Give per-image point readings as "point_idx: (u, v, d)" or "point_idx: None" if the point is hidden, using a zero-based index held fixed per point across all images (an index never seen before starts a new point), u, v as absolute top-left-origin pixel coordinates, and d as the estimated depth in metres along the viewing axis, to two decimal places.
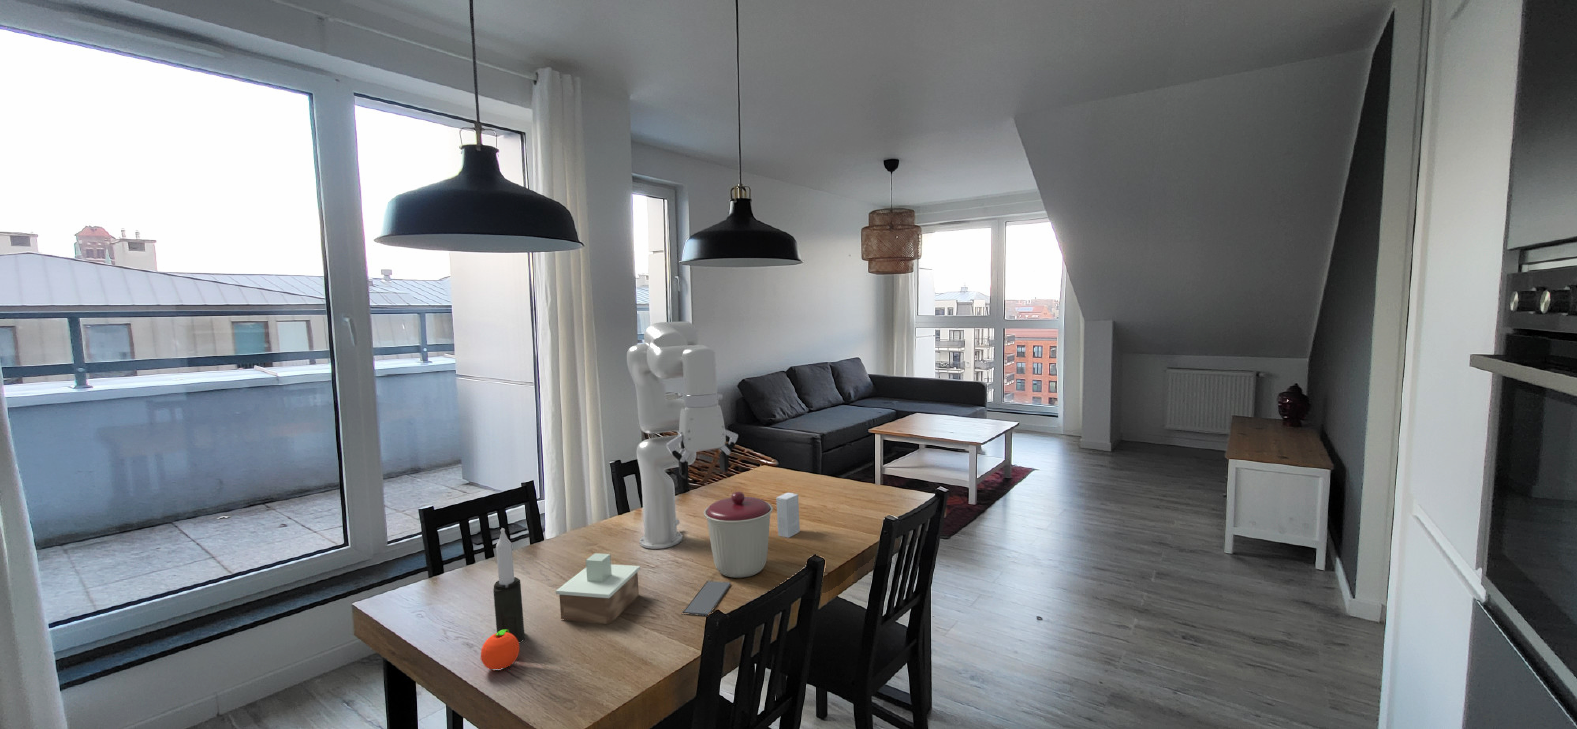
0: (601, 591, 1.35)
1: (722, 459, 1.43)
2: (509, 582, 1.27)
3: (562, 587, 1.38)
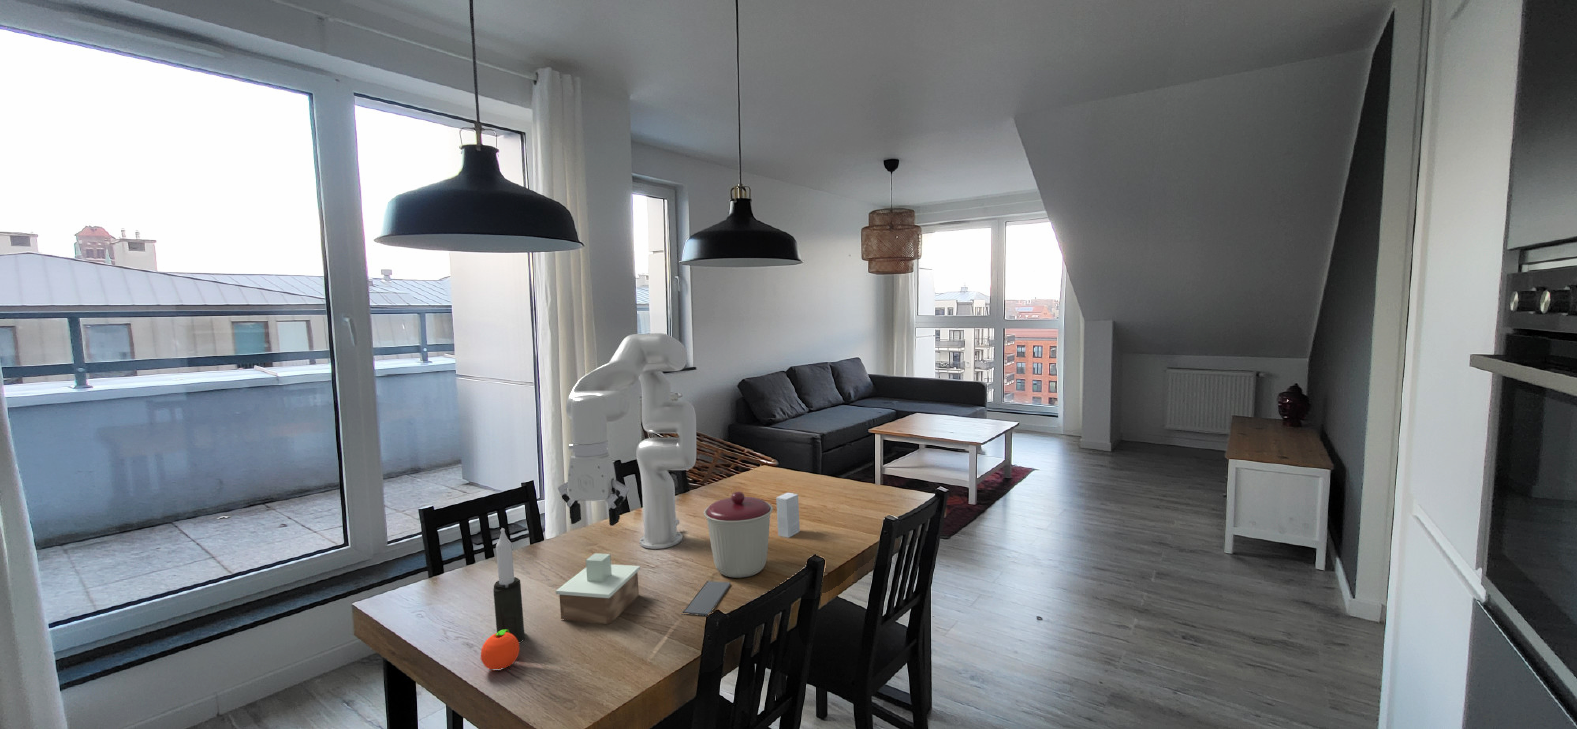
0: (601, 591, 1.35)
1: (577, 509, 1.41)
2: (509, 582, 1.27)
3: (562, 587, 1.38)
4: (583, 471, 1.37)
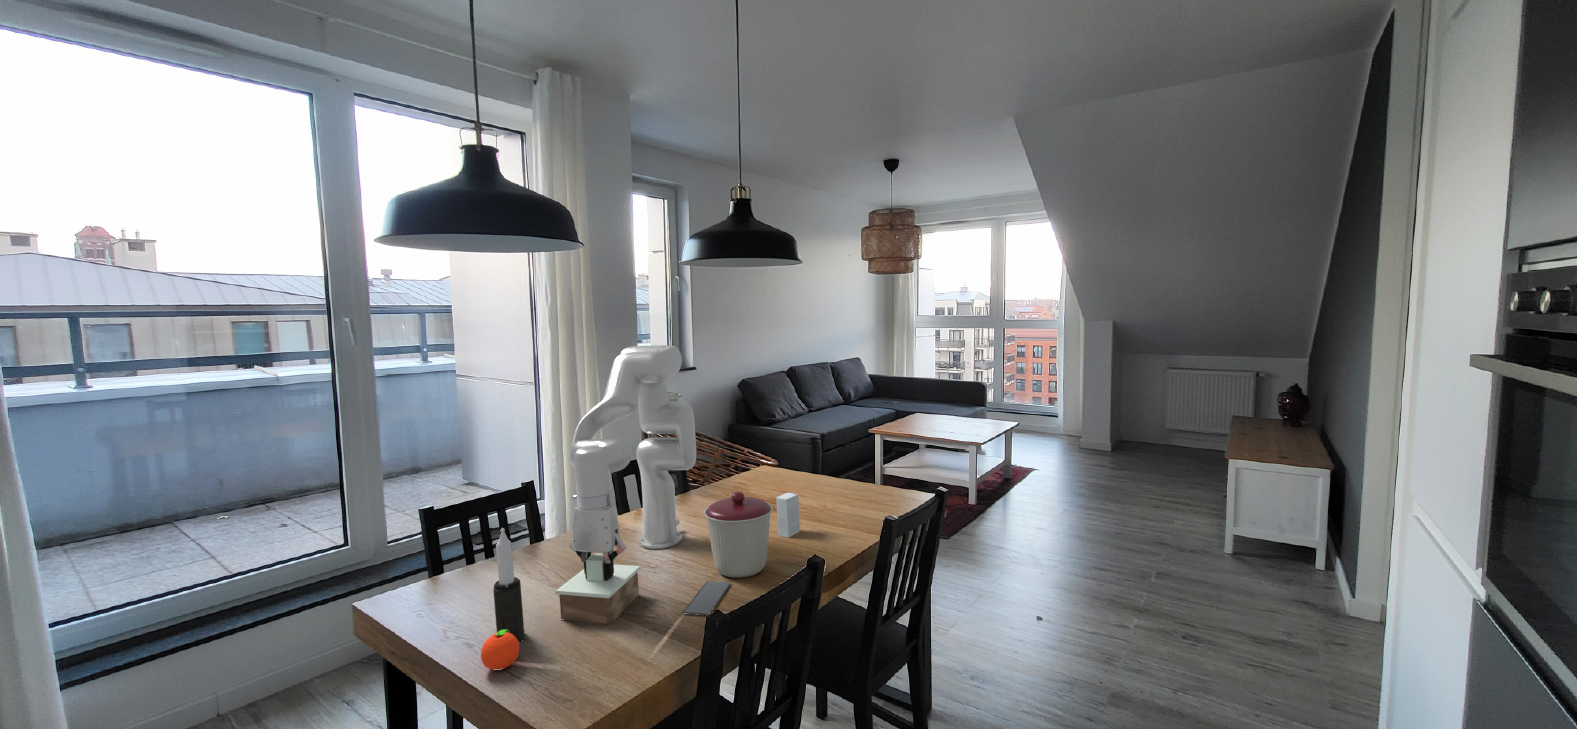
0: (601, 591, 1.35)
1: None
2: (509, 582, 1.27)
3: (562, 587, 1.38)
4: (587, 523, 1.38)
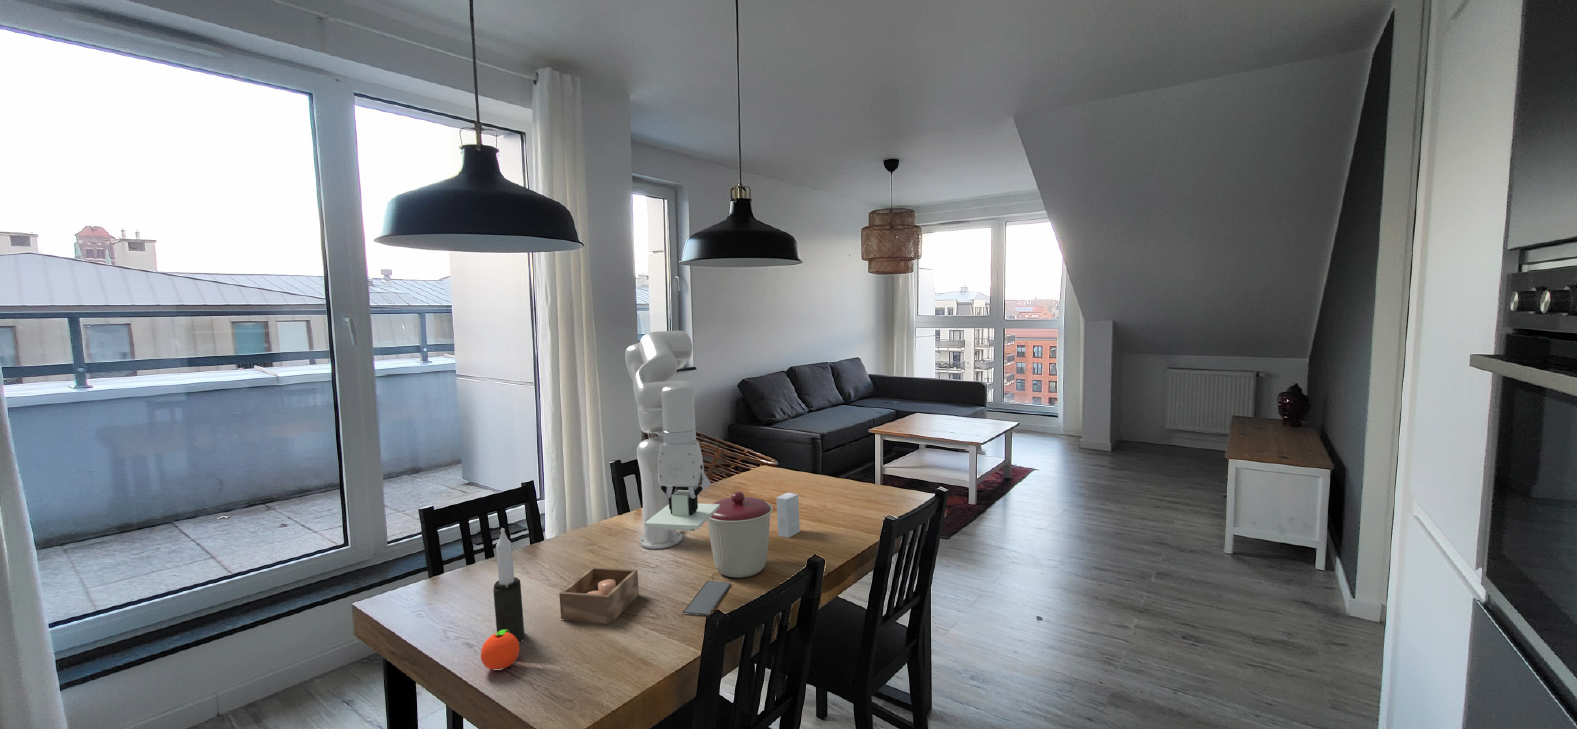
0: (689, 523, 1.38)
1: None
2: (509, 582, 1.27)
3: (650, 520, 1.41)
4: (674, 458, 1.42)
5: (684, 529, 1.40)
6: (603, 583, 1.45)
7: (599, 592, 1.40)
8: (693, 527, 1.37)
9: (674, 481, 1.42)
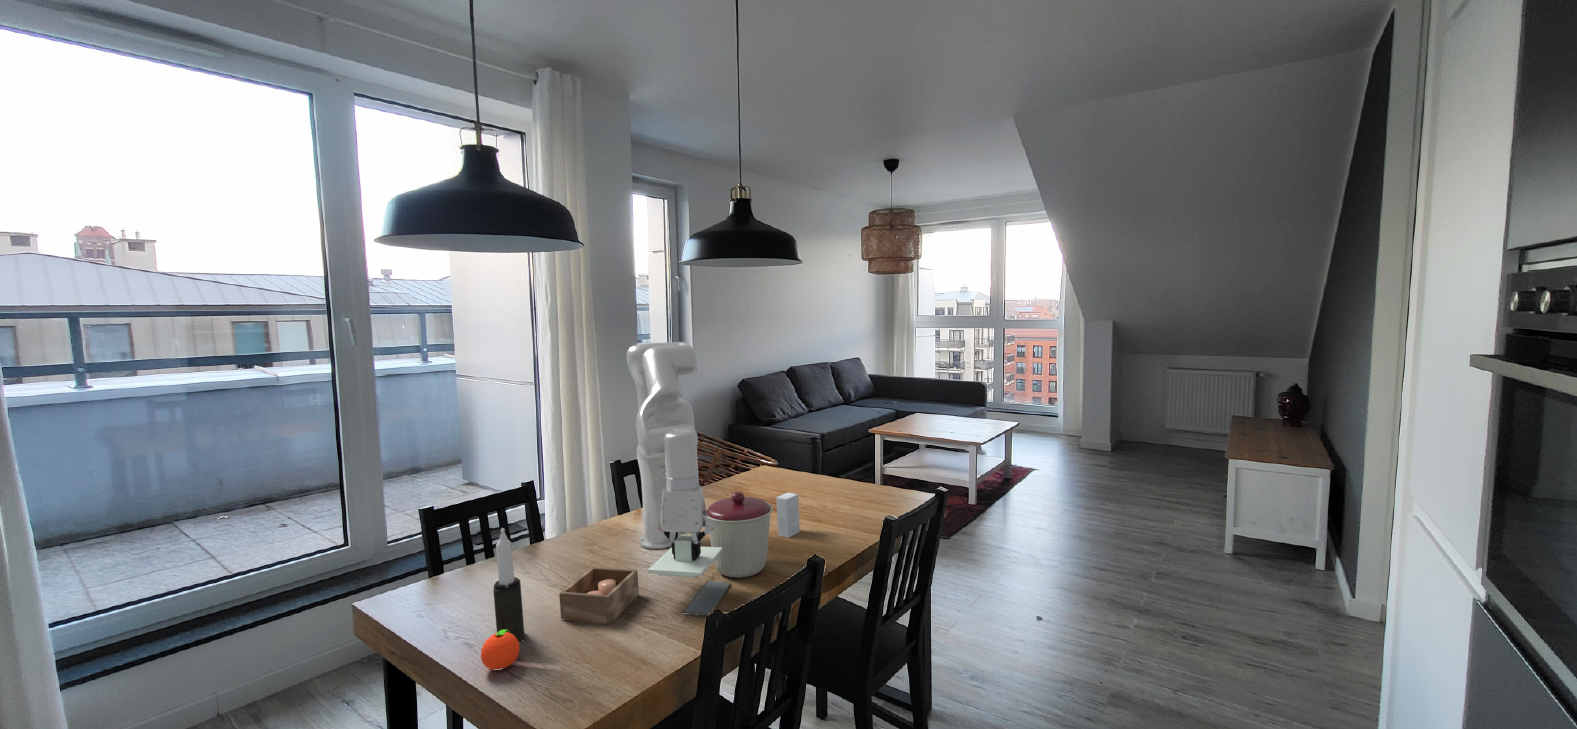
0: (692, 570, 1.39)
1: None
2: (509, 582, 1.27)
3: (653, 566, 1.42)
4: (677, 504, 1.43)
5: (687, 575, 1.40)
6: (603, 583, 1.45)
7: (599, 592, 1.40)
8: (696, 574, 1.38)
9: (677, 527, 1.43)
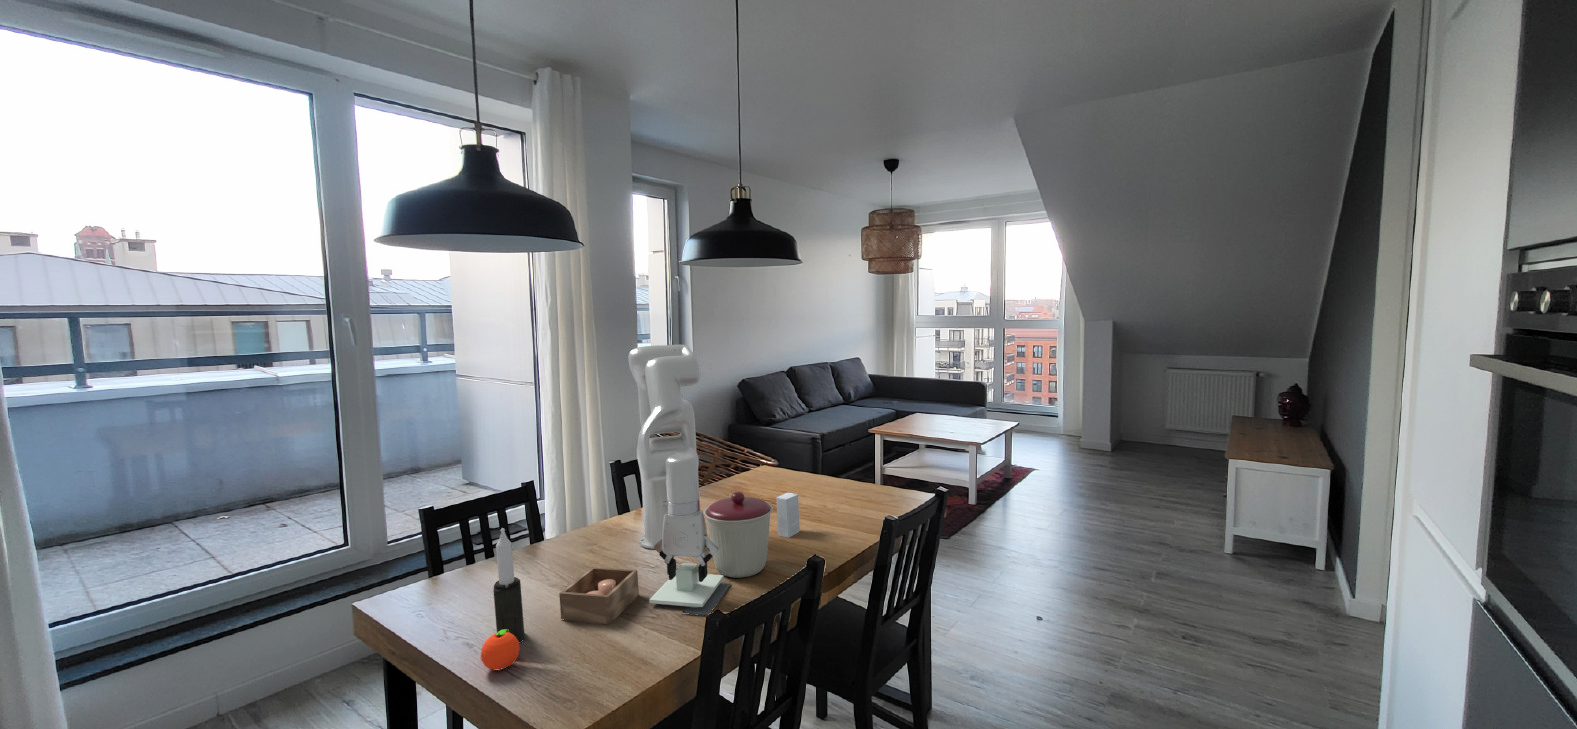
0: (694, 600, 1.40)
1: (674, 565, 1.48)
2: (509, 582, 1.27)
3: (654, 596, 1.43)
4: (678, 528, 1.43)
5: (688, 606, 1.41)
6: (603, 583, 1.45)
7: (599, 592, 1.40)
8: (697, 605, 1.39)
9: (678, 551, 1.44)
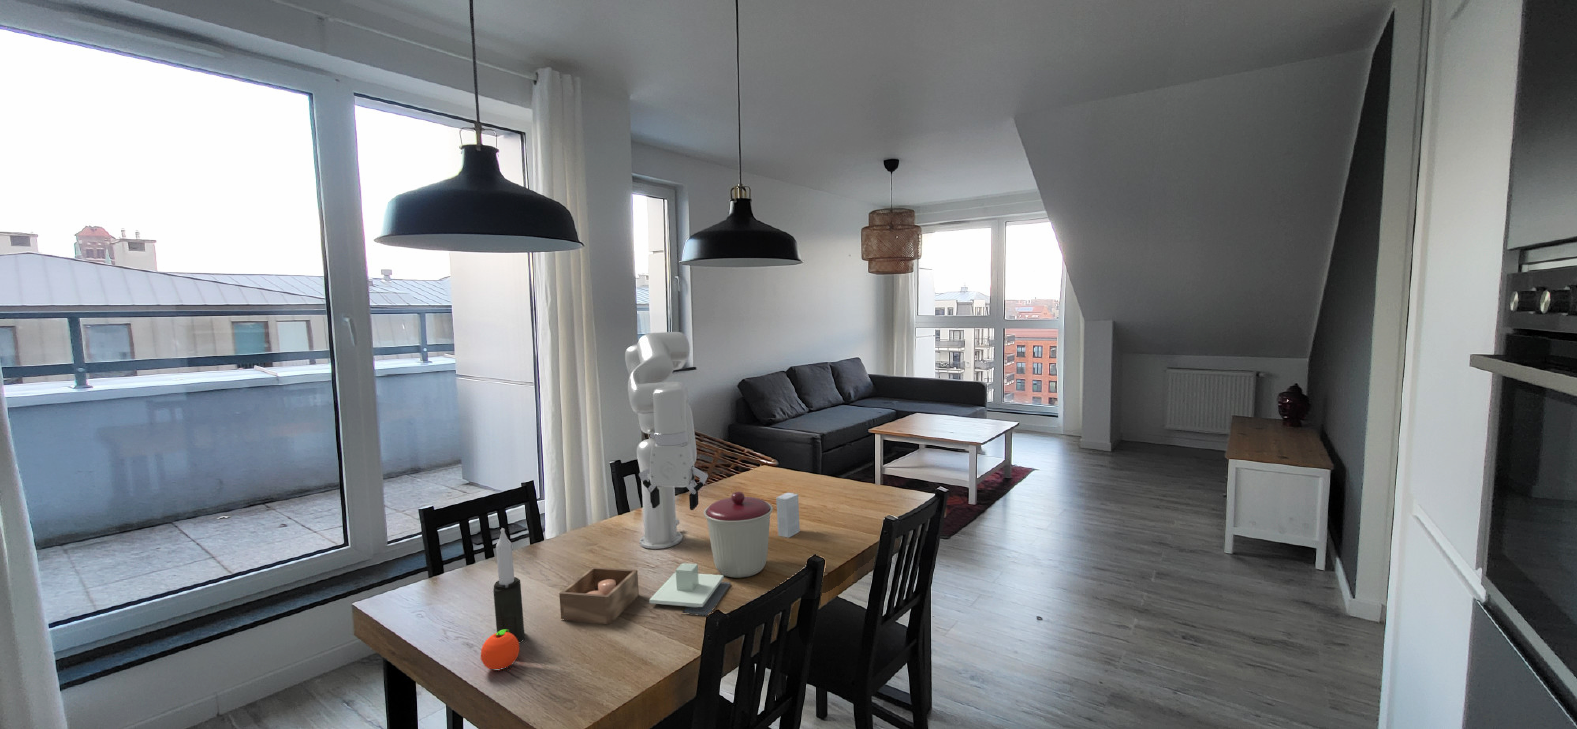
0: (694, 600, 1.40)
1: (657, 494, 1.49)
2: (509, 582, 1.27)
3: (654, 596, 1.43)
4: (665, 459, 1.44)
5: (688, 606, 1.41)
6: (603, 583, 1.45)
7: (599, 592, 1.40)
8: (697, 605, 1.39)
9: (665, 481, 1.45)
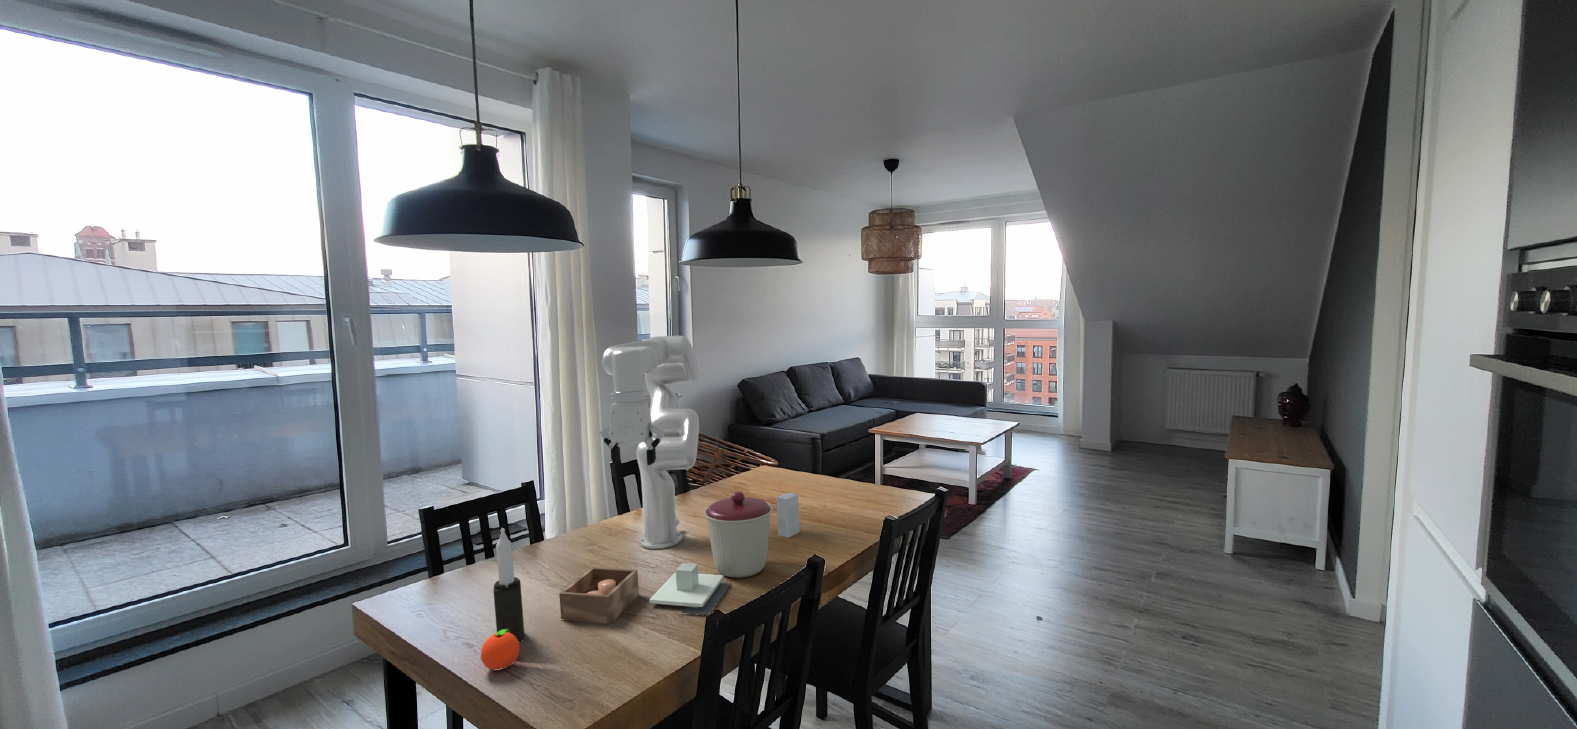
0: (694, 600, 1.40)
1: (617, 451, 1.58)
2: (509, 582, 1.27)
3: (654, 596, 1.43)
4: (623, 416, 1.53)
5: (688, 606, 1.41)
6: (603, 583, 1.45)
7: (599, 592, 1.40)
8: (697, 605, 1.39)
9: (624, 438, 1.54)
